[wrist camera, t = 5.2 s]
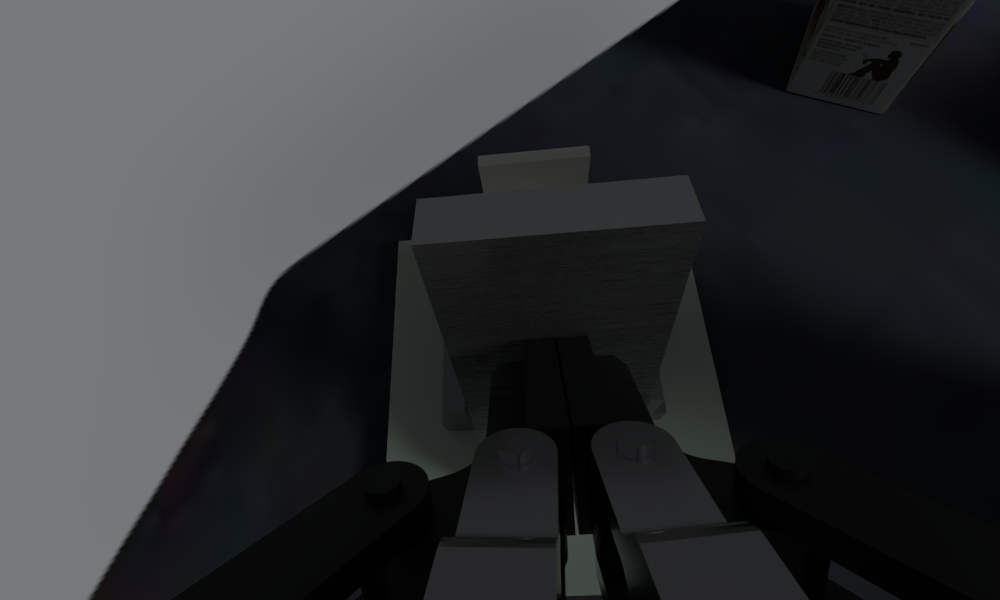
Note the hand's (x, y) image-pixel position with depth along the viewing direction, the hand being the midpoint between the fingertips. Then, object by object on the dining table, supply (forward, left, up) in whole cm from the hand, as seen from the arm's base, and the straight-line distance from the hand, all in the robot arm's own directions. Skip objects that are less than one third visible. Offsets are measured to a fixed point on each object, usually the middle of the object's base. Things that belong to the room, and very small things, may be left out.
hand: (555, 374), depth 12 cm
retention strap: (0, +1, -8) cm, 8 cm away
